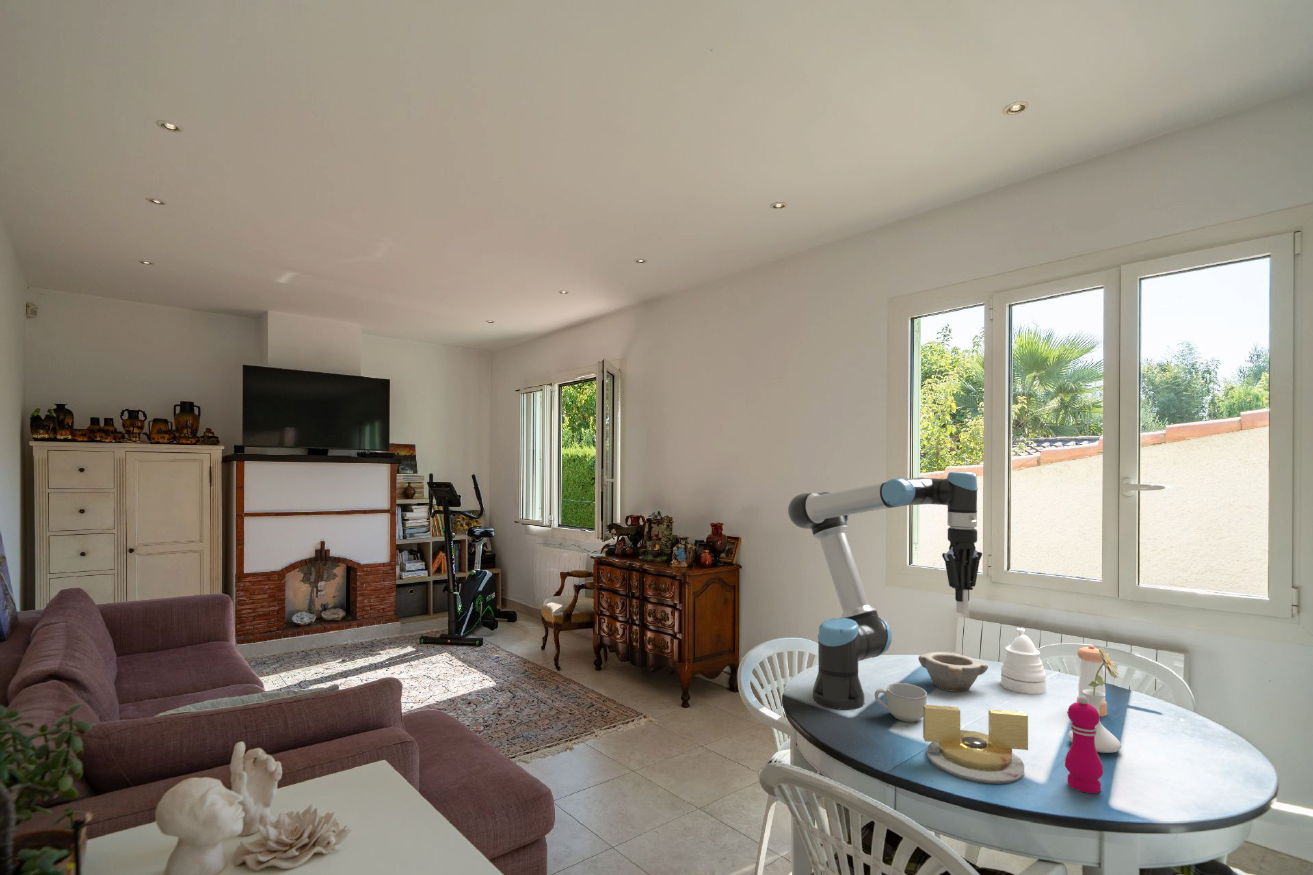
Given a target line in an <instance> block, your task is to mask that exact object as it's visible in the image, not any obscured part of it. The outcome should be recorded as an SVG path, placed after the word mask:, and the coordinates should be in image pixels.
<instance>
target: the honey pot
mask: <svg viewBox="0 0 1313 875" xmlns="http://www.w3.org/2000/svg"><path fill="white" fill-rule="evenodd" d="M1015 631H1016V633H1017V634H1018V636H1016V637H1015V639H1013V641H1012V642H1011V644H1010V645H1007V646H1005V647H1004V650H1005V652H1007V653H1006V655H1005V656H1004V661H1003V662H1002V663H1003V664H1002V665H1001V668H1000V672H1001V673H1000V684H1001V686H1002V687H1003V688H1005V689H1007V690H1010V691H1013V692H1018V693H1021V694H1030V695H1032V694H1033V695H1038V694H1039V695H1040V694H1045V693H1046V692H1047V672H1046V671H1045V668H1044V667H1045V666H1043V661H1042V660H1041V656H1040V655H1041V652H1040V650H1038V649H1037V648H1036V646H1035V644H1034V642H1033V641H1032V640H1031V638H1030V637H1029V636H1028V635H1025V632H1026V629H1025V628H1021V627H1020V628H1019V627H1017V628H1016V629H1015Z"/></svg>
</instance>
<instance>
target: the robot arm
mask: <svg viewBox="0 0 1313 875" xmlns="http://www.w3.org/2000/svg"><path fill="white" fill-rule="evenodd" d="M916 505H917V506H918V505H938V506H939V505H940V506H946V507H947V521H946V522H947V526H948V528H947V540H948V542H949V546H948V551H947V552H946V553H945V552H943V553H942V554H941V557H942V558H943V560H944V564H945V568H946V569H945V570H946V575H947V579H948V580H947V582H948V586H949V588H950V587H951V588H952V589H954V591H955V594H954V595H955V596H954V597H955V598H954V599H955V601H956V606H955V608H956V613H958V614H963V615H969V601H970V591H972V590H974V587H976V584H977V578H978V573H979V566H980V561H981V558H982V556H983V553H982V552H981V551H978V550H977V549H976V547H977V546H975V543H977V542H978V530H977V527H978V478H977V475H976V473H974V472H971V471H970V472H965V471H963V472H961V471H959V472H958V471H949V472H948V474H947V476H946V478H934V477H933V478H931V477H913V478H902V477H898V478H893V479H889V480H887V481H884V482H879V483H878V482H877V483H873V484H869V485H863V486H858V487H854V488H847V489H843V490H838V491H834V492H828V491H823V492H809V493H808V492H806V493H800V494H797V495H796V496H794V497H793V498H792V499H791V500H790V502H789V504H788V508H787V514H788V517H789V519H790V521H791V523H793V524H794V525H795V526H796V527H798V528H800V529H803V530H806V529H807V530H808V529H811V532H812V535H813V537H814V538H815V539H817V540H819V542H820V545H821V548H822V551H823V554H824V557H825V562H826V563H827V567H828V569H829V572H830V576H831V580H832V582H833V585H834V589H835V592H836V594H837V597H838V601H839V604H840V607H841V610H842V614H841V616H840V617H837V618H828V619H826V620H824V621H822V622H821V623H820V624H819V626H818V634H817V640H818V650H817V653H818V658H817V659H818V660H817V661H818V669H817V670H818V671H817V676H816V679H815V682H814V684H813V688H812V691H811V694H812V695H811V696H812V697H811V698H812V700H813V699H814V700H813V701H814V702H815V701H816V702H815V703H817V704H818V705H821V706H824V707H827V708H831V709H838V708H841V709H840V710H851V709H850V708H854V709H858V708H861V707H862V706H863V704H864V705H865V693H864V689H863V686H862V684H861V681H860V678H859V662H861V661H863V660H867V659H868V660H869V659H870V658H871V659H872V658H873V659H874V658H876V657H879V656H880V655H883V654H885V653H886V652H887V651H888V650H889V648H890V646H891V644H892V642H893V641H892V640H893V635H892V630H891V627H890V625H889V623H887V621H886V620H884V619H883V618H882V617H880V616H879V614H878V611H877V608H874V607H873V606H871V605H870V603H869V600H868V597H867V594H866V591H865V588H864V585H863V582H862V579H861V575H860V573H859V570H858V567H857V564H856V561H855V559H854V556H853V552H852V549H851V547H850V543H849V540H848V537H847V534H846V532H847V530H848V528H849V527H848V526H849V525H848V521H849V516H850V515H855V514H856V515H857V514H862V513H868V512H869V513H870V512H873V511H879V510H885V509H891V508H900V507H903V506H904V507H905V506H916ZM860 706H861V707H860Z"/></svg>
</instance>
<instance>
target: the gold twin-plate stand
mask: <svg viewBox="0 0 1313 875" xmlns="http://www.w3.org/2000/svg"><path fill="white" fill-rule="evenodd" d="M922 738H923V740H924V742H925V743H926V742H927V743H932V742H937V743H939V751H940V753H941V754H942V755H943V756H945V757H946V758H948V759H949V760H951V761H954V762H956V763H958V764H961V765H965V766H968V767H973V768H978V769H988V770H996V769H1003V768H1007V767H1009V766H1010V765H1011V764H1012V753H1013V749H1014V750H1020V751H1021V750H1022V751H1023V750H1025V751H1029V715H1028V714H1027V713H1026V712H1025V711H1017V710H1015V711H1012V710H1004V709H1003V710H1002V709H1001V710H1000V709H988V734H986V733H984V732H979V731H978V732H977V731H973V730H965V729H964V730H963V729H962V730H961V709H960V708H959V707H958V706H949V705H948V706H947V705H946V706H945V705H934V704H933V705H932V704H926V705H923V717H922Z"/></svg>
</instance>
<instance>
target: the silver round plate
mask: <svg viewBox="0 0 1313 875" xmlns="http://www.w3.org/2000/svg"><path fill="white" fill-rule="evenodd" d="M927 758H928V760H929V762H930V763H931V764H933V766H935V767H936V768H938V769H939V770H941V771H943V772H945V773H947V774H949V775H951V776H954V777H957V778H960V779H964V780H967V781H971V782H976V783H983V784H991V785H992V784H993V785H994V784H996V785H997V784H999V785H1003V784H1011V782H1012V783H1015V782H1018V781H1020V780H1021V779H1022V778H1023V777H1024V776H1025V764H1024V762H1023V760H1022V759H1021V757H1019V756H1018V755H1016V754H1015V753H1013V752H1012V764H1011V765H1010V766H1009V767H1007V768H1003V769H996V770H988V769H978V768H973V767H968V766H965V765H961V764H958V763H956V762H954V761H951V760H949V759H948V758H946V757H945V756H943V755H942V754H941V753H940V751H939V743H937V742H929V744H928V745H927ZM1014 781H1015V782H1014Z"/></svg>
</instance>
